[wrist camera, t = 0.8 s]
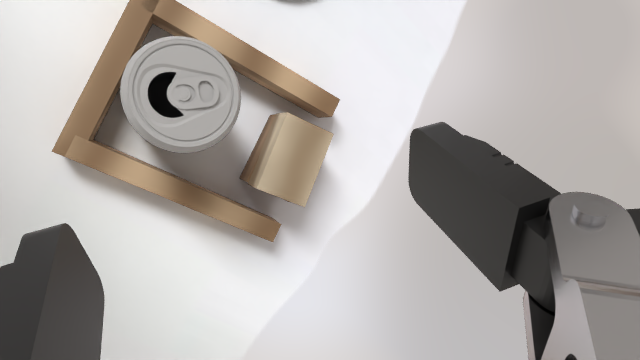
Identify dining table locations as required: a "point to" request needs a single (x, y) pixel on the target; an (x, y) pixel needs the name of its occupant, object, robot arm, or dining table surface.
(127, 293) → the dining table surface
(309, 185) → the birch offcut
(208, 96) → the beverage can
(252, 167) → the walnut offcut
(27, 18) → the dining table surface
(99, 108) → the frame
